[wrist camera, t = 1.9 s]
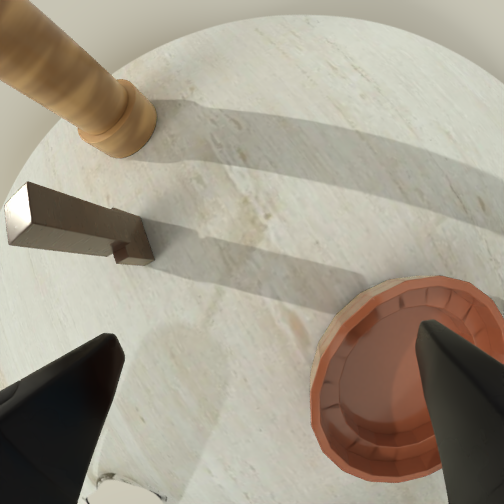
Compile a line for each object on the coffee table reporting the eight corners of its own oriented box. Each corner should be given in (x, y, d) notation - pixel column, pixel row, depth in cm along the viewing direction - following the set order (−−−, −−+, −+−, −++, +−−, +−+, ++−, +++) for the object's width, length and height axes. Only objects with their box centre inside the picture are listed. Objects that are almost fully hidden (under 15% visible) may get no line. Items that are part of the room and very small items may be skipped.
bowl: (411, 468, 18) (426, 500, 13) (274, 403, 21) (264, 433, 16) (504, 328, 18) (538, 337, 13) (376, 240, 21) (394, 230, 16)
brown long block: (161, 257, 24) (35, 238, 11) (138, 269, 24) (10, 260, 11) (146, 213, 24) (26, 167, 12) (124, 226, 25) (2, 192, 12)
